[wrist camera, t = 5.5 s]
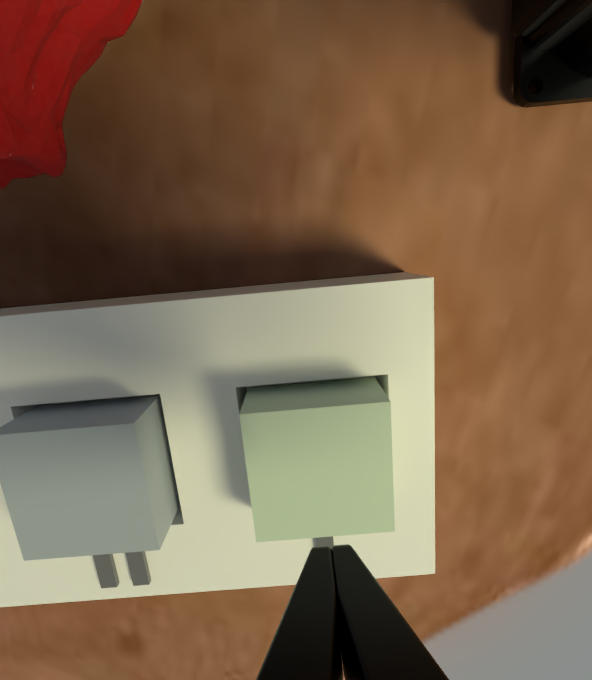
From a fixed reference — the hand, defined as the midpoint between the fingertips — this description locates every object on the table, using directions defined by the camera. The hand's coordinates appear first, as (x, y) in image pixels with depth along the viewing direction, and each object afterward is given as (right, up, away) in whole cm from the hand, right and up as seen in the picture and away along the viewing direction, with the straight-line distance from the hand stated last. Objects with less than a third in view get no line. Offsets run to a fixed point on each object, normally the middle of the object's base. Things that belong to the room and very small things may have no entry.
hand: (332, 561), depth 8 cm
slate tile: (-7, 0, +6) cm, 9 cm away
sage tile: (0, +1, +5) cm, 6 cm away
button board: (-7, +1, +8) cm, 11 cm away
